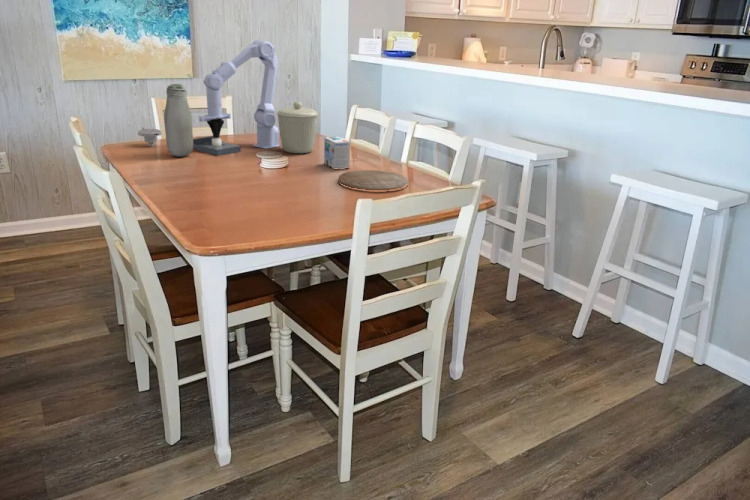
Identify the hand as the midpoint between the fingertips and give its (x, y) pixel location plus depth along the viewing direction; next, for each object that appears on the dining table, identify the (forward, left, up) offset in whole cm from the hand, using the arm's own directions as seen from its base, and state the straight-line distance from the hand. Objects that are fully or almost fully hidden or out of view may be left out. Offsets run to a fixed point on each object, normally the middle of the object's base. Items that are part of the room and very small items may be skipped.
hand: (216, 137), depth 241 cm
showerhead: (+15, -25, -6) cm, 30 cm away
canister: (-25, +23, -6) cm, 34 cm away
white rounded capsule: (0, 0, -6) cm, 6 cm away
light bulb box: (-17, +52, -6) cm, 55 cm away
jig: (0, 0, -6) cm, 6 cm away
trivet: (-8, +77, -6) cm, 78 cm away
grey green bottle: (+17, -1, -6) cm, 18 cm away
